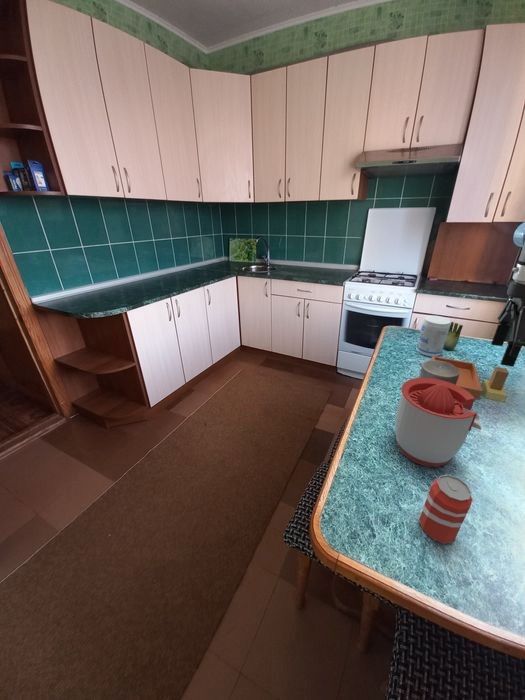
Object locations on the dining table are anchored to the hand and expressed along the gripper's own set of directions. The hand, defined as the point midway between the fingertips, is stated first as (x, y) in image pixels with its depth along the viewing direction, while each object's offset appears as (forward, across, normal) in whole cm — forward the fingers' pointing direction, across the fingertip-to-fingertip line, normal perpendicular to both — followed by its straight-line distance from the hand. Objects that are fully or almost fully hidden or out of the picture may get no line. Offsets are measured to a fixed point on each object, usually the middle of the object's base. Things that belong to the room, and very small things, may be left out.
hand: (501, 354), depth 84 cm
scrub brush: (+17, -6, +3) cm, 18 cm away
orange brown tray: (+16, -10, -8) cm, 21 cm away
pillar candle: (+16, +10, -16) cm, 25 cm away
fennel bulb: (+17, -37, -8) cm, 41 cm away
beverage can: (+16, +52, -15) cm, 56 cm away
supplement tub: (+17, -30, -15) cm, 38 cm away
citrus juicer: (+16, +31, -17) cm, 39 cm away
